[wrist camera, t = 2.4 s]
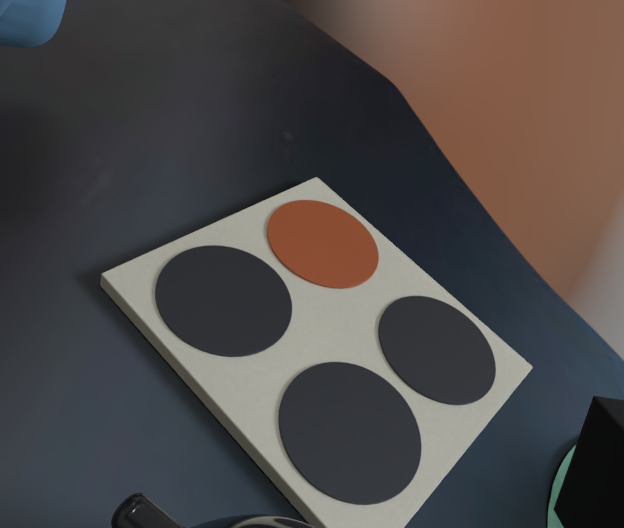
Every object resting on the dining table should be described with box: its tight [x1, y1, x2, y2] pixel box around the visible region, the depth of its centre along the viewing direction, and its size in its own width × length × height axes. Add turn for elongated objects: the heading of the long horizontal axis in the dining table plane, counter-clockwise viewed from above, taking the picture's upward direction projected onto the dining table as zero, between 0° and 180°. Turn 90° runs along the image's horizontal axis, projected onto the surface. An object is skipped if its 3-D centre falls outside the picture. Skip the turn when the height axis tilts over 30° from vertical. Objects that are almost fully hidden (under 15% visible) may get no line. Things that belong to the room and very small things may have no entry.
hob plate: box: [100, 177, 532, 528], centre depth 39 cm, size 22×20×1 cm
